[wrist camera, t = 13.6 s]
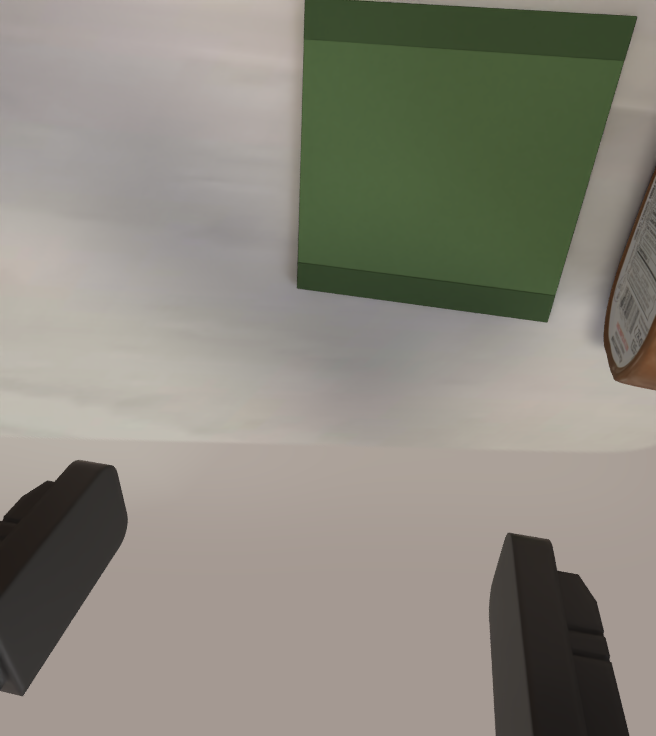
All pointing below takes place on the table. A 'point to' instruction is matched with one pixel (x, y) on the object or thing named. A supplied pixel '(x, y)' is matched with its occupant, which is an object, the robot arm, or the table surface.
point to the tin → (635, 303)
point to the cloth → (449, 149)
